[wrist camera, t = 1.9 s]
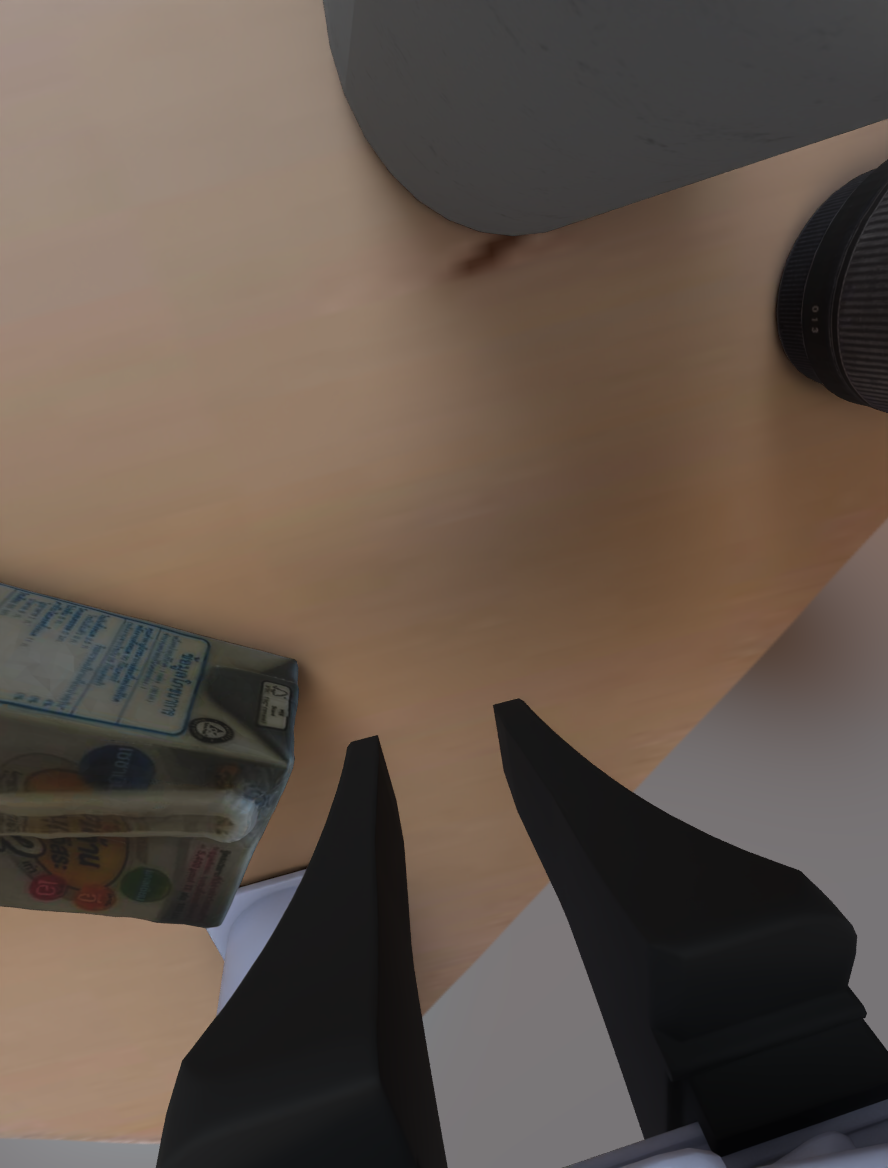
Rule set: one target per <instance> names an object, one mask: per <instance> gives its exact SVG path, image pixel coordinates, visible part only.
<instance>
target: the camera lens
mask: <svg viewBox="0 0 888 1168" xmlns="http://www.w3.org/2000/svg"><path fill="white" fill-rule="evenodd" d="M777 322H778V333H779V337H780V340H781V343H782V345H783V348H784V351H785V353H786V355H787V356H788V358H789V360H790V361H791V363H792V364H793V365H794V366H795V367H796V368H797V369H798V370H799V371H800V372H801V373H803V374H804V375H805V376H807V377H808V378H810V379H812V380H814V381H816V382H819V383H822V384H823V385H824V386H825V387H826V388H827V389H828V390H829V391H831V392H832V393H834V394H835V395H837V396H838V397H840V398H842V399H844V400H847V401H849V402H853V403H856V404H860V405H864V406H868V407H871V408H874V409H877V410H880V411H883V412H886V413H888V160H887V161H885V162H884V163H883V164H881V165H880V166H879V167H878V168H877V169H873V170H871V171H869V172H866V173H864V174H862V175H860V176H858V177H856V178H855V179H853V180H851V181H850V182H848V183H847V184H846V185H844V186H843V187H841V188H840V189H839V190H837V191H836V192H835V193H833V194H832V195H831V196H830V197H829V198H828V199H827V200H826V201H825V202H824V203H823V204H822V205H821V206H820V207H819V208H818V209H817V210H816V212H815V213H814V214H813V216H812V217H811V218H810V220H809V221H808V222H807V224H806V225H805V227H804V228H803V230H802V232H801V233H800V235H799V237H798V238H797V240H796V242H795V244H794V246H793V248H792V250H791V252H790V254H789V257H788V259H787V261H786V265H785V268H784V272H783V275H782V279H781V282H780V286H779V294H778V303H777Z"/></svg>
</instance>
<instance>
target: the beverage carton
mask: <svg viewBox="0 0 888 1168" xmlns="http://www.w3.org/2000/svg"><path fill="white" fill-rule="evenodd" d="M297 682H298V664H297V661H296V660H294V659H291V658H287V657H283V656H279V655H275V654H272V653H268V652H264V651H260V650H257V649H253V648H248V647H244V646H240V645H236V644H232V643H228V642H225V641H221V640H217V639H213V638H209V637H205V636H202V635H198V634H194V633H191V632H187V631H183V630H180V629H176V628H172V627H169V626H165V625H162V624H158V623H154V622H151V621H147V620H143V619H139V618H135V617H131V616H126V615H122V614H118V613H114V612H110V611H106V610H102V609H98V608H95V607H91V606H87V605H83V604H79V603H75V602H71V601H67V600H63V599H60V598H56V597H52V596H48V595H44V594H40V593H36V592H32V591H29V590H25V589H22V588H18V587H14V586H11V585H7V584H3V583H0V906H2V907H13V908H22V909H29V910H41V911H56V912H71V913H85V914H95V915H104V916H112V917H132V918H138V919H144V920H148V921H152V922H156V923H171V924H186V925H192V926H197V927H203V928H213V927H218V926H220V925H222V923H223V921H224V919H225V917H226V915H227V913H228V911H229V909H230V907H231V904H232V902H233V899H234V897H235V895H236V892H237V890H238V888H239V886H240V884H241V881H242V879H243V876H244V874H245V871H246V869H247V866H248V864H249V861H250V859H251V857H252V855H253V852H254V850H255V848H256V846H257V844H258V842H259V840H260V838H261V837H262V835H263V833H264V831H265V828H266V826H267V824H268V822H269V820H270V817H271V815H272V813H273V812H274V810H275V808H276V806H277V803H278V801H279V799H280V797H281V795H282V793H283V791H284V789H285V786H286V784H287V781H288V779H289V777H290V774H291V772H292V769H293V765H294V760H295V757H294V724H295V716H296V711H297V706H298V695H299V687H298V684H297Z"/></svg>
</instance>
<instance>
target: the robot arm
mask: <svg viewBox="0 0 888 1168" xmlns="http://www.w3.org/2000/svg"><path fill="white" fill-rule="evenodd" d="M493 708H494V714H495V720H496V726H497V732H498V738H499V744H500V750H501V757H502V763H503V769H504V773H505V776H506V779H507V782H508V785H509V788H510V791H511V794H512V797H513V799H514V802H515V805H516V808H517V811H518V813H519V815H520V818H521V820H522V822H523V824H524V826H525V828H526V831H527V833H528V835H529V837H530V839H531V841H532V843H533V845H534V848H535V850H536V852H537V854H538V856H539V858H540V860H541V862H542V865H543V867H544V869H545V871H546V873H547V875H548V877H549V879H550V881H551V884H552V886H553V888H554V890H555V892H556V894H557V896H558V898H559V901H560V903H561V905H562V908H563V910H564V912H565V915H566V917H567V919H568V922H569V925H570V927H571V930H572V933H573V935H574V938H575V941H576V944H577V946H578V949H579V952H580V955H581V958H582V960H583V963H584V966H585V968H586V971H587V974H588V977H589V980H590V983H591V985H592V988H593V991H594V993H595V996H596V999H597V1002H598V1005H599V1008H600V1011H601V1013H602V1016H603V1019H604V1022H605V1025H606V1028H607V1031H608V1033H609V1036H610V1039H611V1042H612V1045H613V1048H614V1051H615V1054H616V1057H617V1059H618V1062H619V1065H620V1068H621V1071H622V1074H623V1077H624V1080H625V1082H626V1086H627V1089H628V1092H629V1095H630V1098H631V1101H632V1104H633V1107H634V1110H635V1113H636V1116H637V1119H638V1122H639V1124H640V1127H641V1130H642V1133H643V1136H644V1139H645V1140H642V1141H639V1142H637V1143H634V1144H631V1145H628V1146H625V1147H622V1148H619V1149H616V1150H613V1151H610V1152H607V1153H604V1154H601V1155H598V1156H596V1157H593V1158H590V1159H587V1160H584V1161H581V1162H578V1163H575V1164H572V1165H569V1166H566V1167H563V1168H888V1051H887V1050H886V1048H885V1047H884V1046H883V1044H882V1043H881V1042H880V1040H879V1039H878V1038H877V1036H876V1035H875V1034H874V1032H873V1031H872V1030H871V1029H870V1027H869V1026H868V1025H867V1023H866V1022H865V1021H864V1019H863V1018H865V1017H866V1014H867V1012H866V1010H865V1008H864V1006H863V1005H862V1003H861V1002H860V1001H859V999H858V998H857V997H856V995H855V994H854V993H853V992H852V990H851V989H850V988H849V986H848V982H849V979H850V974H851V971H852V967H853V963H854V959H855V955H856V943H857V935H856V933H855V930H854V928H853V926H852V925H851V924H850V922H849V921H848V920H847V919H846V918H845V916H844V915H843V914H842V913H841V912H840V911H839V910H838V908H837V907H836V906H835V905H834V904H833V903H832V901H831V900H829V898H828V897H827V896H826V895H825V894H824V893H823V892H822V891H821V890H820V889H819V888H818V887H817V886H816V885H815V884H813V883H812V882H811V881H810V880H809V879H808V878H807V877H806V876H805V875H804V874H803V873H802V872H801V871H799V870H797V869H794V868H791V867H788V866H786V865H783V864H780V863H777V862H774V861H772V860H769V859H767V858H764V857H761V856H759V855H756V854H753V853H750V852H748V851H745V850H743V849H740V848H738V847H736V846H733V845H731V844H729V843H727V842H724V841H722V840H720V839H718V838H715V837H713V836H711V835H709V834H707V833H705V832H703V831H701V830H699V829H697V828H695V827H693V826H691V825H689V824H687V823H685V822H683V821H681V820H679V819H677V818H675V817H673V816H671V815H669V814H668V813H666V812H664V811H663V810H661V809H659V808H657V807H656V806H654V805H652V804H651V803H649V802H647V801H646V800H644V799H642V798H641V797H639V796H638V795H636V794H635V793H633V792H631V791H630V790H628V789H627V788H625V787H624V786H622V785H621V784H619V783H618V782H617V781H615V780H614V779H612V778H611V777H610V776H608V775H607V774H606V773H604V772H603V771H601V770H600V769H599V768H597V767H596V766H595V765H593V764H592V763H591V762H590V761H588V760H587V759H586V758H585V757H583V756H582V755H581V754H580V753H578V752H577V751H576V750H575V749H574V748H573V747H571V746H570V745H569V744H568V743H567V742H565V741H564V740H563V739H562V738H561V737H560V736H559V735H557V734H556V733H555V732H554V731H553V730H552V729H551V728H550V727H549V726H548V725H547V724H546V723H545V722H543V721H542V720H541V719H540V718H539V717H538V716H537V715H536V714H535V713H534V712H533V711H532V710H531V708H530V707H529V706H528V705H527V704H526V703H525V702H524V701H523V700H521V699H519V698H518V699H514V700H510V701H506V702H502V703H499V704H495V705H493ZM206 930H207V931H208V933H209V935H210V937H211V938H212V940H213V942H214V944H215V945H216V947H217V949H218V951H219V952H220V954H221V956H222V958H223V959H224V961H225V962H224V968H223V975H222V982H221V989H220V995H219V1002H218V1009H217V1016H216V1018H215V1019H214V1020H213V1022H212V1023H211V1024H210V1026H209V1027H208V1028H207V1030H206V1031H205V1032H204V1033H203V1035H202V1036H201V1037H200V1039H199V1040H198V1041H197V1043H196V1044H195V1045H194V1046H193V1048H192V1049H191V1050H190V1052H189V1053H188V1054H187V1055H186V1057H185V1058H184V1059H183V1060H182V1063H181V1067H180V1070H179V1073H178V1076H177V1079H176V1083H175V1086H174V1089H173V1093H172V1096H171V1100H170V1103H169V1106H168V1110H167V1114H166V1118H165V1123H164V1128H163V1133H162V1138H161V1144H160V1149H159V1154H158V1159H157V1165H156V1168H448V1167H447V1162H446V1156H445V1150H444V1144H443V1139H442V1133H441V1127H440V1121H439V1116H438V1110H437V1104H436V1098H435V1092H434V1086H433V1081H432V1075H431V1069H430V1063H429V1057H428V1051H427V1045H426V1039H425V1033H424V1027H423V1021H422V1014H421V1008H420V1002H419V996H418V989H417V983H416V977H415V971H414V963H413V954H412V945H411V932H410V918H409V904H408V890H407V876H406V863H405V849H404V840H403V835H402V829H401V823H400V818H399V812H398V807H397V801H396V797H395V794H394V790H393V787H392V783H391V780H390V776H389V773H388V769H387V766H386V762H385V759H384V755H383V752H382V748H381V745H380V741H379V738H378V735H376V736H372V737H368V738H364V739H361V740H357V741H353V742H351V743H350V744H349V745H348V747H347V752H346V757H345V762H344V766H343V770H342V774H341V777H340V781H339V784H338V788H337V791H336V794H335V797H334V800H333V803H332V806H331V809H330V812H329V815H328V818H327V821H326V824H325V826H324V829H323V831H322V834H321V836H320V839H319V841H318V843H317V846H316V848H315V851H314V853H313V856H312V858H311V860H310V863H309V865H308V867H307V869H304V870H301V871H297V872H294V873H290V874H286V875H283V876H279V877H276V878H272V879H268V880H265V881H261V882H258V883H254V884H251V885H247V886H243V887H240V888H238V890H237V892H236V895H235V897H234V899H233V902H232V904H231V907H230V909H229V911H228V913H227V915H226V917H225V919H224V921H223V923H222V925H220V926H218V927H213V928H206Z"/></svg>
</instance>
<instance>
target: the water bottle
mask: <svg viewBox="0 0 888 1168" xmlns="http://www.w3.org/2000/svg"><path fill="white" fill-rule="evenodd" d="M323 3H324V10H325V17H326V24H327V30H328V37H329V44H330V49H331V52H332V55H333V59H334V62H335V65H336V68H337V72H338V75H339V78H340V82H341V85H342V88H343V91H344V95H345V97H346V99H347V101H348V103H349V105H350V107H351V109H352V111H353V113H354V115H355V118H356V120H357V122H358V124H359V126H360V128H361V130H362V132H363V134H364V136H365V138H366V139H367V141H368V142H369V144H370V145H371V146H372V148H373V149H374V151H375V152H376V153H377V155H378V156H379V158H380V159H381V161H382V162H383V163H384V165H385V166H386V168H387V169H388V170H389V172H390V173H391V174H392V175H393V176H394V177H395V178H396V179H397V180H398V181H399V182H400V183H401V184H402V185H403V186H404V187H405V188H406V189H407V190H408V191H409V192H410V193H411V194H413V195H414V196H415V197H416V198H417V199H418V200H419V201H420V202H422V203H424V204H425V205H427V206H428V207H430V208H431V209H433V210H434V211H436V212H437V213H439V214H440V215H442V216H444V217H445V218H447V219H448V220H450V221H453V222H456V223H458V224H461V225H464V226H466V227H469V228H472V229H474V230H477V231H480V232H486V233H494V234H502V235H509V236H517V235H526V234H536V233H545V232H548V231H551V230H554V229H557V228H560V227H563V226H566V225H569V224H572V223H575V222H578V221H581V220H584V219H587V218H590V217H593V216H596V215H599V214H602V213H605V212H608V211H611V210H614V209H617V208H620V207H623V206H626V205H629V204H632V203H635V202H638V201H641V200H644V199H647V198H650V197H653V196H656V195H659V194H662V193H665V192H668V191H671V190H674V189H677V188H680V187H683V186H686V185H689V184H692V183H695V182H698V181H701V180H704V179H707V178H710V177H713V176H716V175H719V174H722V173H725V172H728V171H731V170H734V169H737V168H740V167H743V166H746V165H749V164H752V163H755V162H758V161H761V160H764V159H767V158H770V157H773V156H776V155H779V154H782V153H785V152H788V151H791V150H794V149H797V148H800V147H803V146H806V145H809V144H813V143H816V142H819V141H822V140H825V139H828V138H831V137H834V136H837V135H840V134H843V133H846V132H849V131H852V130H855V129H858V128H861V127H864V126H867V125H870V124H873V123H876V122H879V121H882V120H885V119H888V0H323Z"/></svg>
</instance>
